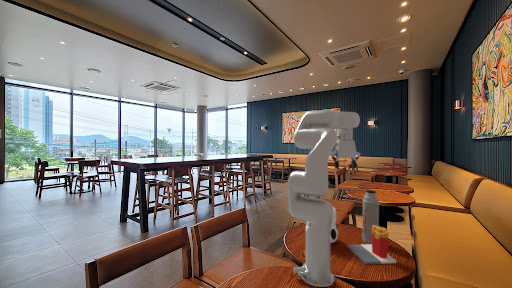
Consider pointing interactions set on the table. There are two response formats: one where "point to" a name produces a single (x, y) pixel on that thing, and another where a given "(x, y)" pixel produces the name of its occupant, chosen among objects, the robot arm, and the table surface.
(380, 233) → the french fries
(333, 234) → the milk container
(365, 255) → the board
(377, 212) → the thermos bottle
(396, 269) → the table surface
